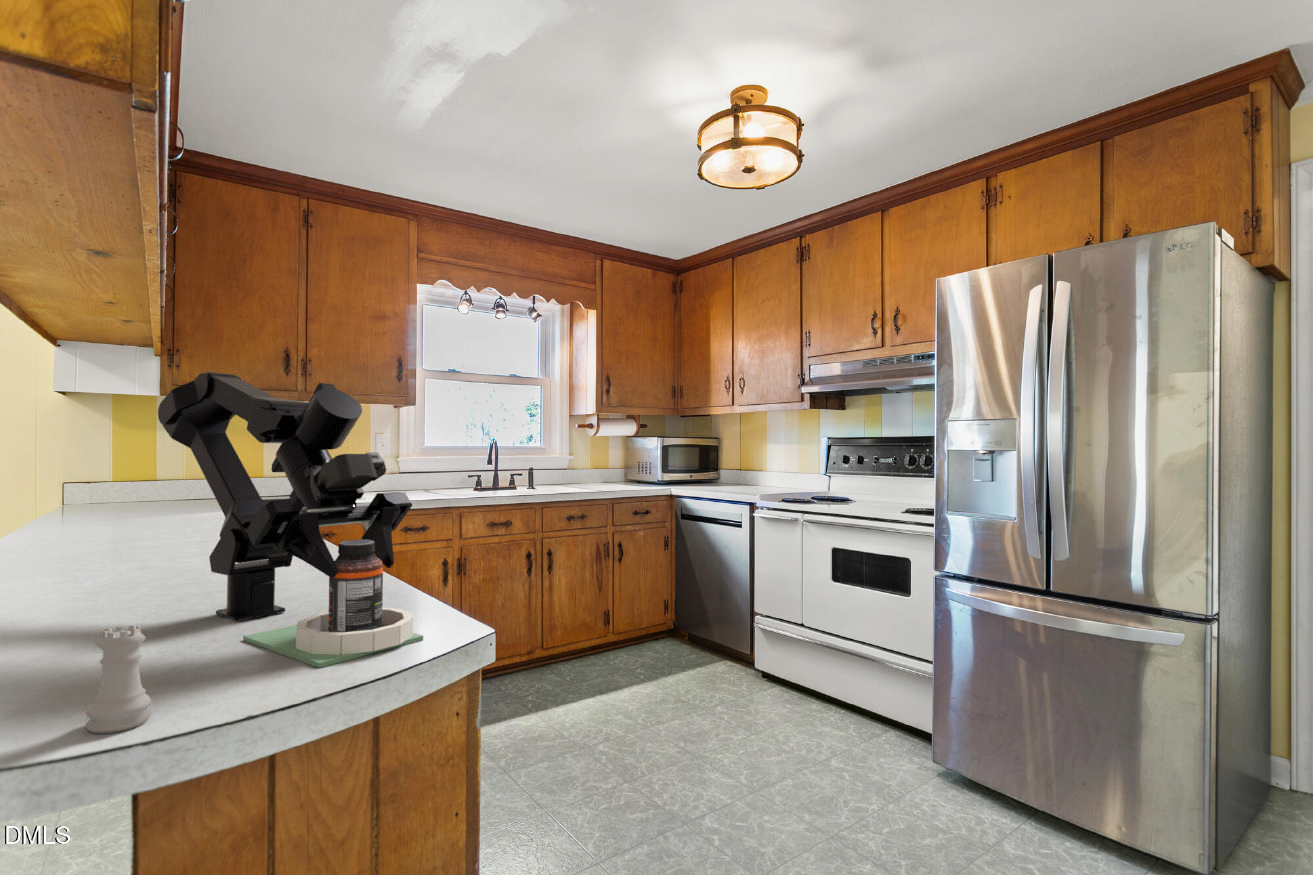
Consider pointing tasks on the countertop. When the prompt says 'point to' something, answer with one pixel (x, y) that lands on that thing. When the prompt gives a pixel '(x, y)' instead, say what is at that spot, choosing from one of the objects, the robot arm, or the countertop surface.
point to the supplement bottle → (356, 588)
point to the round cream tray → (353, 634)
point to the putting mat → (286, 645)
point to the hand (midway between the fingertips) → (364, 570)
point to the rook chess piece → (119, 684)
